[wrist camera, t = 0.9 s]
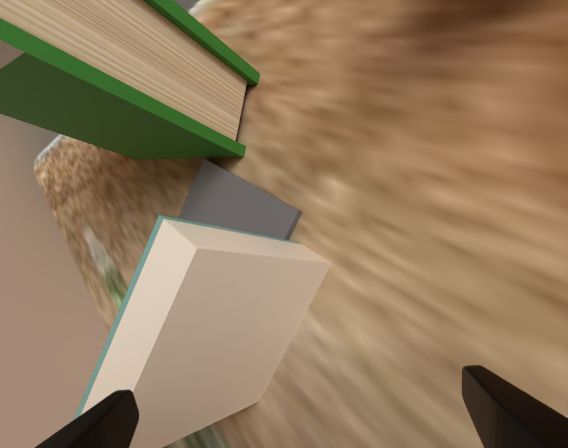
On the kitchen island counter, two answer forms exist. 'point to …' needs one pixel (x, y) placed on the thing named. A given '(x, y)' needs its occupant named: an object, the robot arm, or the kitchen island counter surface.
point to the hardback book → (122, 76)
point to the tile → (203, 326)
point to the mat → (236, 204)
